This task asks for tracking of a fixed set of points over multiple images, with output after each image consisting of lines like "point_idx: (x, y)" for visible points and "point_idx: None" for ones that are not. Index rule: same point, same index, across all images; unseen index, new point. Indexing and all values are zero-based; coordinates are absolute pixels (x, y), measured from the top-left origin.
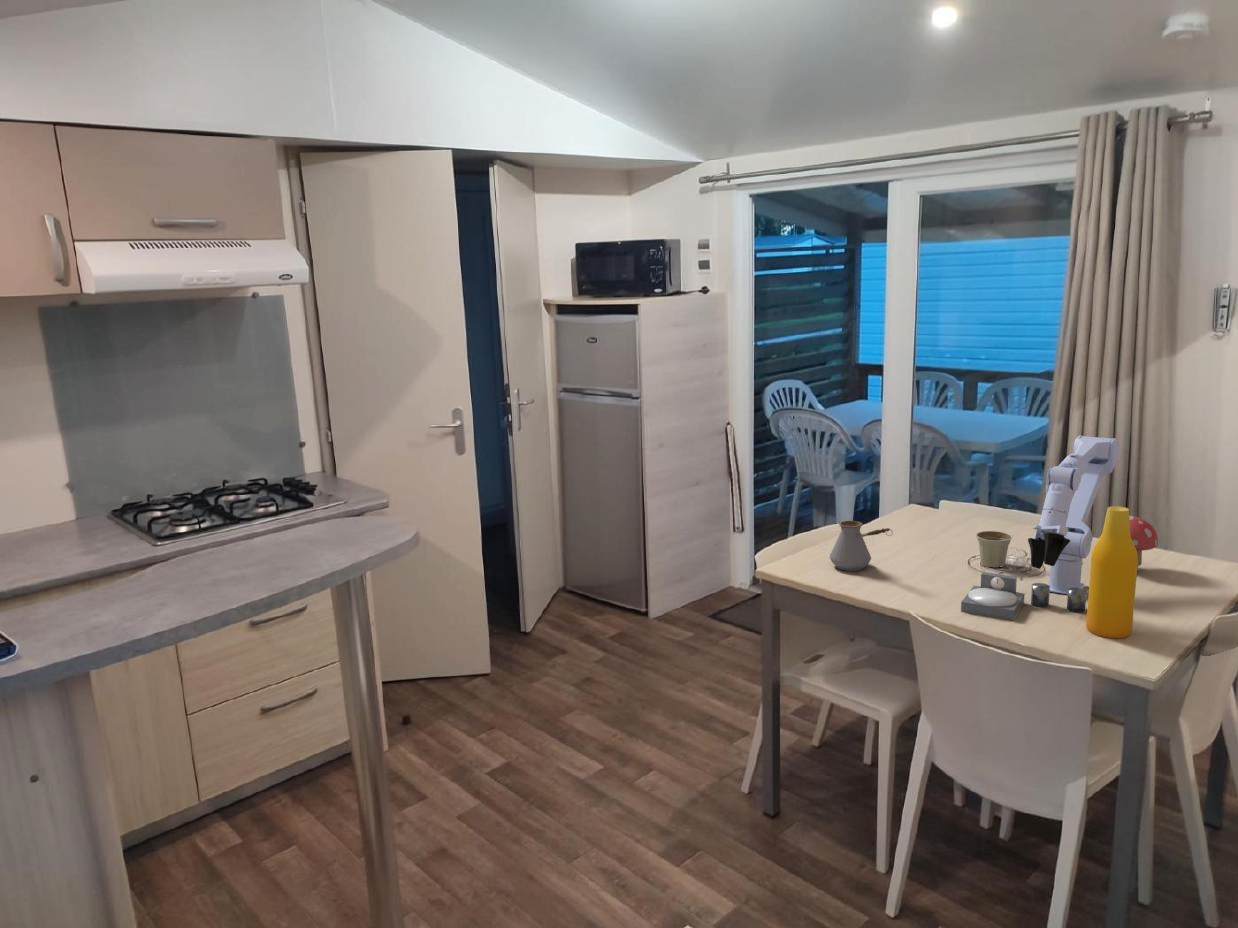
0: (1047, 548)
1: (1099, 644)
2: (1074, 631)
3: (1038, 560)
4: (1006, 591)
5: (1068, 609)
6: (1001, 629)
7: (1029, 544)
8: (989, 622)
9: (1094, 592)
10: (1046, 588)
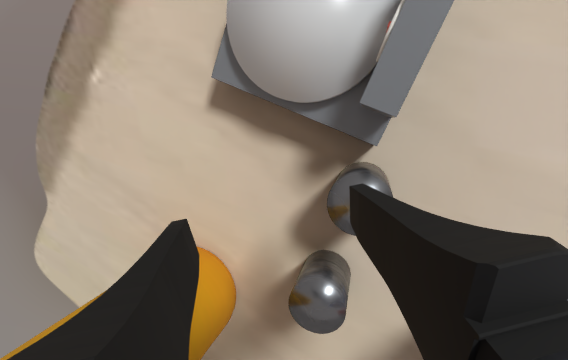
0: (120, 278)
1: (129, 238)
2: (183, 214)
3: (368, 232)
4: (359, 73)
5: (318, 252)
6: (162, 38)
7: (496, 232)
8: (202, 8)
9: (85, 305)
10: (330, 216)
